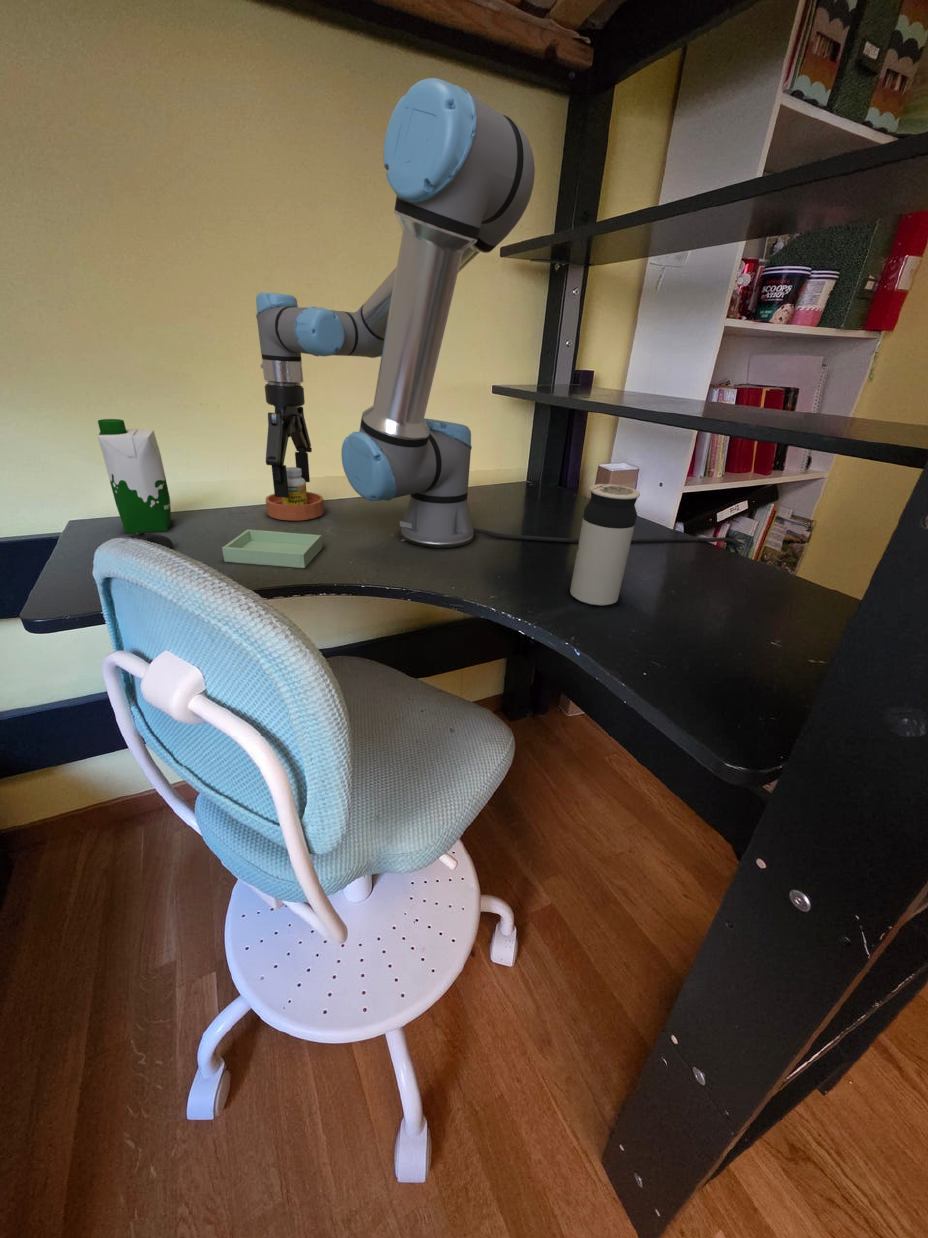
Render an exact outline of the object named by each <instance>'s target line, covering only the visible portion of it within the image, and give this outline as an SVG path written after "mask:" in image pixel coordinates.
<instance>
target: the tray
mask: <svg viewBox="0 0 928 1238" xmlns="http://www.w3.org/2000/svg"><path fill="white" fill-rule="evenodd" d="M221 549H222V555H223V560H224V561H223V562H225V563H237V564H248V565H262V566H273V567H285V568H286V567H287V568H298V569H300V568H301V569H306V568H307V566H308V565H310V563H311V562H312V560H314V558H315V557H316V556H317V555H318V554H319V552H321V550H322V549H323V538H322V535H321V534H312V533H311V534H310V533H299V532H284V531H272V530H261V529H246V530H245V531H243V532H242V533H240V534H239V535H238V536H236V537H235V538H234V539H231V541H229V542H228V543H227V544H225V545H224V546H222V548H221Z"/></svg>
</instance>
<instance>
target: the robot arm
mask: <svg viewBox="0 0 928 1238" xmlns="http://www.w3.org/2000/svg"><path fill="white" fill-rule="evenodd" d="M388 121H389V122H388V125H387V128H386V132H385V137H384V143H383V166H384V169H385V170H386V171H387V172H386V174H385V176H386V179H387V182H388V184H389V186H390V188H391V189H392V191H393V192H394V194H395V195H396V197H395V204H394V208H393V209H394V210H393V213H394V216H395V217H396V219H397V221H398V224H399V225H400V228H401V232H402V233H401V238H400V245H399V251H398V257H397V262H396V266H395V268H394V269H393V270H392V271H391V272H390V273H389V274H388V276H387V277H385V279H384V280H383V281H382V282H381V284H380V285H379V286H378V287H377V288H376V289H375V291H374V292H373V293H372V294H371V295H370V296H369V297H368V298H367V299H366V301H365V302H364V303H363V304H362V305H361V306H359V308H358V309H357V311H354V312H351V311H344V310H343V311H342V310H334V309H327V308H325V307H319V306H318V307H317V306H309V307H306V306H305V307H300V306H298V305H299V304H298V299H297V298H296V297H295V296H294V295H291V294H286V293H285V294H284V293H277V292H259V293H257V295H256V298H255V305H256V315H255V318H256V322H257V323H256V324H257V331H258V338H259V347H260V354H261V364H260V368H261V369H262V373H263V380H264V381H265V382H267V383H266V384H265V385H264V394H265V402H266V403H267V404H268V405H270V406H273V407H274V412H268V413H267V438H266V449H265V451H266V452H265V464H266V466H271V474H272V482H273V494H275V497H285V498H288V497H289V493H288V482H287V471H286V468H287V465H286V464H285V459H286V453H287V447H288V442H289V438H290V439H291V441H292V443H293V446H294V448H295V450H296V451H295V452H294V458H295V467H296V468H300V469H301V471H302V476H301V478H303V479H304V480H305V481H306V483H310V482H311V478H310V465H309V453H312V452H313V448H312V444H311V439H310V435H309V431H308V428H307V424H306V419H305V413H304V412H305V411H304V407H303V406H305V404H306V403H305V401H306V399H305V389H304V387H303V385H301V384H303V383H304V371H303V361H302V354H304V355H305V354H306V355H312V356H315V357H331V356H336V357H337V356H338V357H339V356H340V357H362V358H363V357H364V358H370V359H376V358H380V363H379V369H378V375H377V381H376V386H375V391H374V392H375V393H374V397H373V403H372V405H371V406H369V407H368V408H366V409H364V410H363V411H362V413H361V418H360V425H359V429H358V431H352V432H351V433H349V434H348V436H346V437H345V438H344V440H343V442H342V445H341V450H340V451H341V455H340V456H341V457H340V458H341V464H342V469H343V473H344V474H345V476H346V478H347V481H348V483H349V485H350V486H351V488H352V489H353V490H354V491H355V492H356V493H357V494H358V495H359V496H360V497H361V498H363V499H364V500H366V501H370V502H380V501H391V500H394V499H396V498H401V497H405V496H409V502H408V505H407V508H406V511H405V513H404V516H403V519H402V520H399V527H401V528H400V536H401V538H402V539H403V540H404V541H405V542H408V543H409V544H412V545H415V546H419V547H423V548H428V549H429V548H431V549H455V548H460V547H464V546H466V545H469V544H471V543H472V542H473V540H474V535H475V534H479V535H484V536H489V537H493V538H498V539H504V540H505V539H506V540H520V541H538V542H553V543H571V544H572V543H573V544H578V543H579V538H575V537H573V538H572V537H556V536H555V537H554V536H540V535H522V534H507V533H506V534H505V533H499V532H494V531H489V530H485V529H481V528H476V527H474V524H473V520H472V516H471V513H470V512H471V511H470V508H469V504H468V494H469V482H470V481H469V480H470V467H471V465H470V464H471V451H472V449H473V446H472V432H471V429H470V427H469V426H467V425H465V424H463V423H457V422H451V421H445V420H439V419H433V418H432V419H431V418H425V416H426V412H427V408H428V403H429V399H430V395H431V392H432V391H431V390H432V386H433V382H434V377H435V373H436V370H437V369H436V368H437V364H438V360H439V355H440V352H441V348H442V343H443V339H444V335H445V331H446V326H447V322H448V317H449V312H450V309H451V305H452V301H453V298H454V297H453V296H454V292H455V288H456V284H457V279H458V275H459V273H460V272H461V271H462V270H463V269H465V268H466V266H467V265H468V264H470V262H472V260H474V259H475V258H476V257H477V256H478V255H479V254H480V253H483V254H488V253H489V254H490V252H492V251H493V250H494V249H495V248H496V247H497V246H498V245H499V244H501V243H502V242H503V241H504V240H505V238H506V237H508V235H509V234H510V233H511V232H512V231H513V229H515V227H516V225H517V224H518V223H519V221H520V220H521V218H522V217H523V215H524V214H525V211H526V210H527V208H528V206H529V204H530V200H531V198H532V193H533V190H534V184H535V174H536V172H535V171H536V170H535V169H536V167H535V158H534V153H533V148H532V146H531V143H530V141H529V137H528V136H527V135H526V133H525V132H524V130H523V129H522V127H520V125H519V124H518V123H517V122H516V121H514V120H513V119H512V118H510V117H509V116H507V115H505V114H502V113H500V112H499V111H497V110H496V109H495V108H493V107H491V106H490V105H489V104H487V103H485V102H484V101H483V100H481V99H479V98H478V97H476V96H475V95H474V94H472V93H471V92H469V91H468V90H467V89H466V88H463V87H460V86H459V85H458V84H457V85H455V84H453V83H451V82H448V81H446V80H443V79H441V78H436V77H430V78H429V77H428V78H424V79H422V80H419V81H417V82H416V83H414V84H413V85H412V86H410V87H409V89H408V91H407V92H406V94H404V95H402V96H401V98H400V99H399V100H398V101H397V103H396V105H395V107H394V109H393V111H392V113H391V116H390V118H389V120H388ZM692 537H693V538H696V539H699V540H702V541H705V542H704V543H720V542H723V543H724V542H726V543H731V544H733V546H735V547H736V548H741V547H742V546H741V544H740V542H738V541H737V540H735V539H734V538H732V537H726V536H725V537H701V536H700V537H698V536H692ZM691 540H693V541H691ZM671 542H672V543H673V542H675V543H677V542H682V543H683V542H696V541H695V540H694V539H691V538H690V540H688V538H687V539H684V538H680V539H636V540H631V544H635V543H636V544H637V543H639V544H640V543H671ZM699 542H701V541H699Z"/></svg>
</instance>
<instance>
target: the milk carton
mask: <svg viewBox="0 0 928 1238" xmlns="http://www.w3.org/2000/svg"><path fill="white" fill-rule="evenodd" d="M97 424H98V429H99V432H98V436H97V439H98V442H99V446H100V450H101V453H102V456H103V459H104V460H103V461H104V465H105V468H106V472H107V476H108V480H109V484H110V487H111V491H112V494H113V499H114V502H115V505H116V509H117V512H118V515H119V518H120V520H121V524H122V526H123V530H124V532H125V534H135V533H138V532H144V533H157V532H158V533H159V532H161V533H162V532H168V531H169V527H170V526H171V525H170V524H171V521H172V516H171V515H172V511H171V497H170V492H169V488H168V482H167V478H166V473H165V468H164V464H163V458H162V455H161V451H160V447H159V444H158V441H157V437H156V434H155V430H154V429H138V428H129V429H127V427H126V424H125V420H124V419H119V418H103V419H98V420H97Z"/></svg>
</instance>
